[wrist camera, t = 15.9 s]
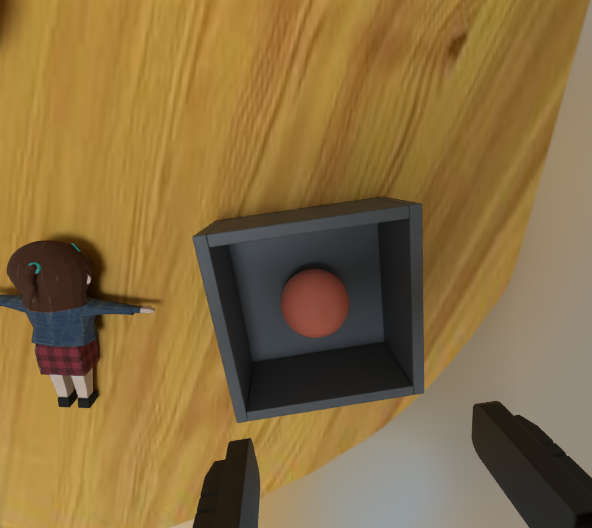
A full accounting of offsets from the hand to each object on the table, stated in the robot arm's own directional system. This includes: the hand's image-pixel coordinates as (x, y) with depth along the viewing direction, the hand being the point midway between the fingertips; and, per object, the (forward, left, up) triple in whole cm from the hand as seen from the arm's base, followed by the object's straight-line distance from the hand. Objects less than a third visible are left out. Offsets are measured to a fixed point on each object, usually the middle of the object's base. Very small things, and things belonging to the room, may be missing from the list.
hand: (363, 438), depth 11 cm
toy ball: (0, 0, -12) cm, 12 cm away
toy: (+20, 0, -16) cm, 26 cm away
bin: (0, 0, -16) cm, 16 cm away
